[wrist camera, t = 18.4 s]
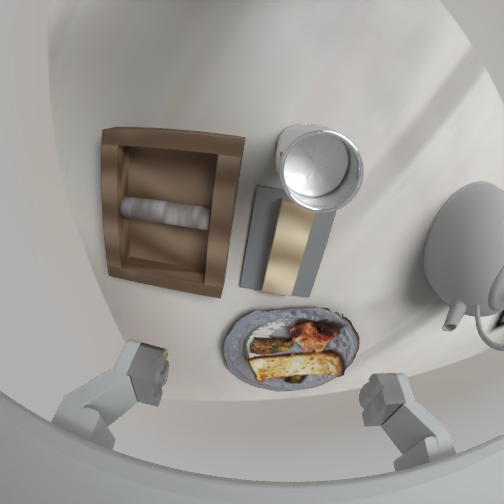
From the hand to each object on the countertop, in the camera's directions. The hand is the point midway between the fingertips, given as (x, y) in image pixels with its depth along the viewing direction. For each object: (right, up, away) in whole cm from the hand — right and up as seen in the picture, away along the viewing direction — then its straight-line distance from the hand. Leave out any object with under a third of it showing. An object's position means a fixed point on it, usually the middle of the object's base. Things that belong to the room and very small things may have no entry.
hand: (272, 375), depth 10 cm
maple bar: (+4, +5, +29) cm, 29 cm away
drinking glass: (+5, +18, +23) cm, 30 cm away
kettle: (+37, +6, +28) cm, 47 cm away
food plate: (+7, -13, +41) cm, 43 cm away
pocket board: (-12, +11, +28) cm, 32 cm away
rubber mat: (+4, +5, +30) cm, 31 cm away
